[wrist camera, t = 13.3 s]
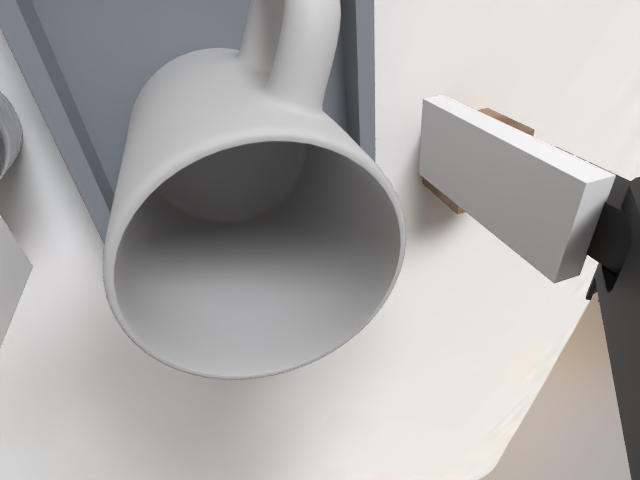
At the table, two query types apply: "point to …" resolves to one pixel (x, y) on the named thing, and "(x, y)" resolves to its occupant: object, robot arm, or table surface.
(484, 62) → the table surface
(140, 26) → the tray
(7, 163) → the chrome bearing sphere
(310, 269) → the mug
